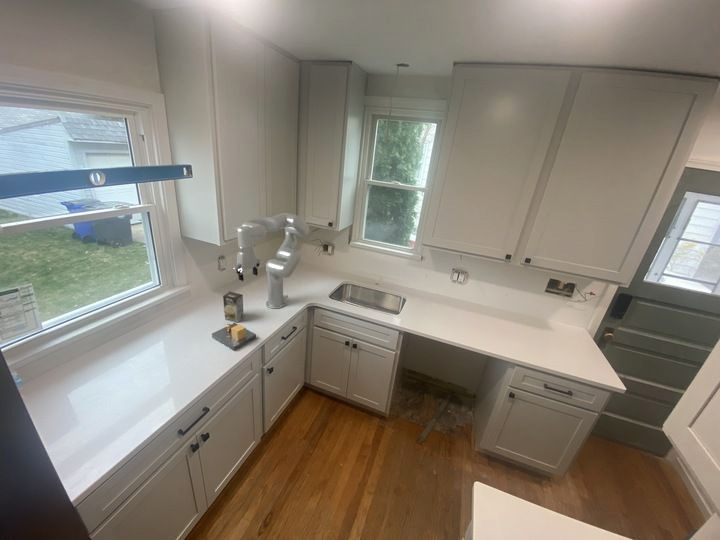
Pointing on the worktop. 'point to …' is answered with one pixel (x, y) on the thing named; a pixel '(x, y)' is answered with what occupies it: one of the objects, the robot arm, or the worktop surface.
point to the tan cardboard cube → (238, 332)
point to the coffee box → (233, 306)
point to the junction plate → (227, 339)
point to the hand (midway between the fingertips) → (248, 277)
